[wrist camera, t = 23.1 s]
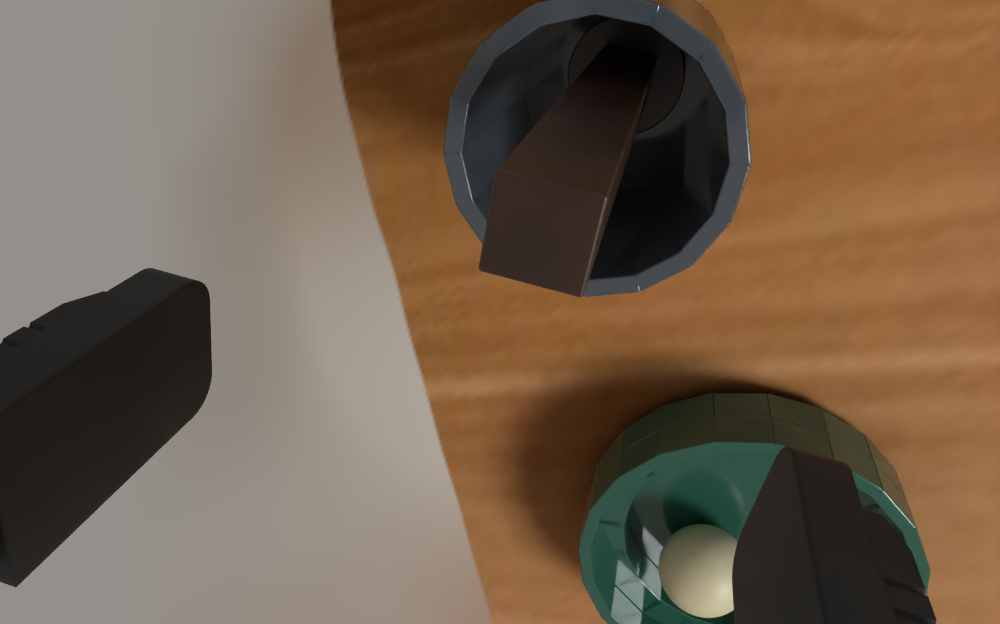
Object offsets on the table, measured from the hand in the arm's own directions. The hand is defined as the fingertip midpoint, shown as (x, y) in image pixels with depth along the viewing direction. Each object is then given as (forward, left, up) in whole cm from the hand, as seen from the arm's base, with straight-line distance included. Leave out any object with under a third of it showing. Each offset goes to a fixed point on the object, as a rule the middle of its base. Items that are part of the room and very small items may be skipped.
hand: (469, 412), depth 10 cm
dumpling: (+10, -21, -20) cm, 31 cm away
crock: (0, 0, -23) cm, 23 cm away
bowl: (+11, -19, -23) cm, 32 cm away
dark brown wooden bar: (0, +1, -22) cm, 22 cm away
